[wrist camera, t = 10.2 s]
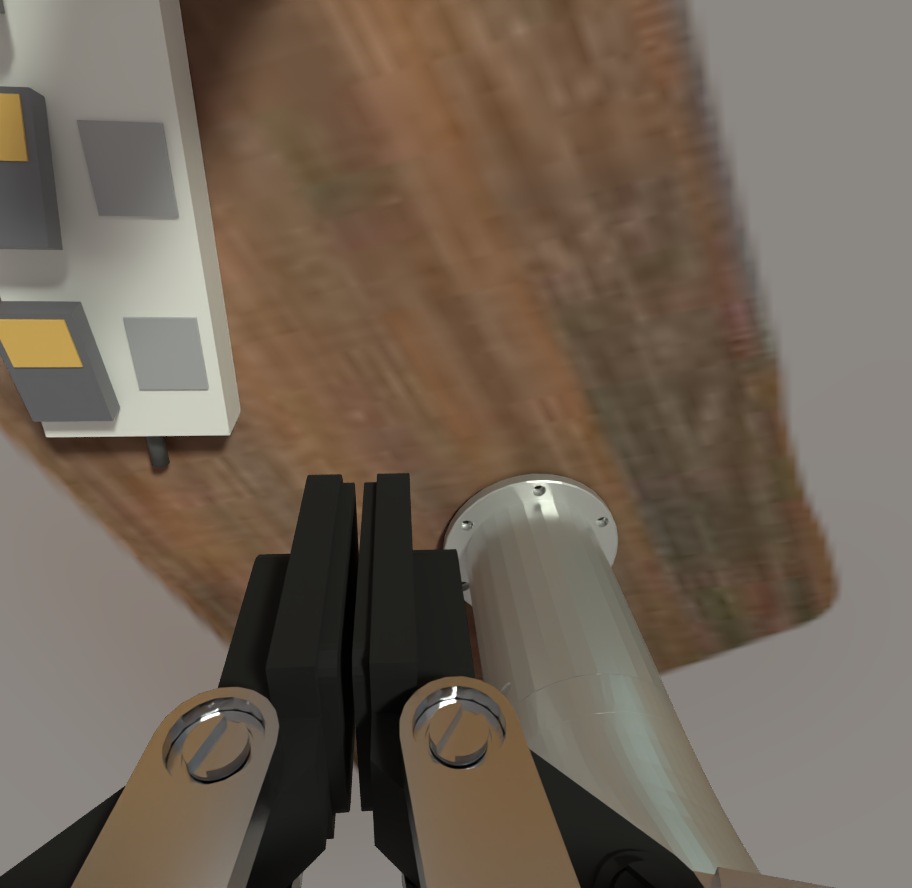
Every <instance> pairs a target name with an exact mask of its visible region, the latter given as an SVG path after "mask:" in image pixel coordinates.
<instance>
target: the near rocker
mask: <svg viewBox="0 0 912 888" xmlns="http://www.w3.org/2000/svg"><path fill="white" fill-rule="evenodd" d="M0 14H5V10H4V4H3V0H0Z"/></svg>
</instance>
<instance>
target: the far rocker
mask: <svg viewBox="0 0 912 888" xmlns="http://www.w3.org/2000/svg"><path fill="white" fill-rule="evenodd" d="M0 355H1V357H2V359H3V361H4V363H5V365H6V367H7V369H8V371H9V373H10V375H11V377H12V379H13V381H14V383H15V385H16V387H17V389H18V391H19V393H20V395H21V397H22V399H23V401H24V404H25V406H26V408H27V410H28V412H29V414H30V416H31V418H32V420H33V422H68V421H113V420H114V418H115V416H116V414H117V412H118V411H119V409H120V405H119V403H118V400H117V397H116V395H115V392H114V389H113V387H112V384H111V381H110V379H109V376H108V373H107V371H106V368H105V365H104V363H103V360H102V357H101V355H100V352H99V349H98V347H97V344H96V341H95V338H94V336H93V333H92V330H91V328H90V325H89V322H88V320H87V317H86V314H85V312H84V309H83V306H82V304H81V302H68V301H0Z"/></svg>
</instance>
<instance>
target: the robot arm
mask: <svg viewBox="0 0 912 888" xmlns="http://www.w3.org/2000/svg"><path fill="white" fill-rule="evenodd" d="M617 546H618V534H617V528H616V524H615V522H614V520H613V517H612V515H611V513H610V511H609V509H608V508H607V506H606V504H605V502H604V501H603V500H602V499H601V498H600V497H599V496H598V495H597V494H596V493H595V492H594V491H593V490H591V489H590V488H588V487H587V486H585V485H584V484H582V483H580V482H578V481H575V480H573V479H570V478H568V477H563V476H558V475H553V474H528V475H520V476H515V477H511V478H508V479H505V480H502V481H499V482H496V483H494V484H492V485H490V486H488V487H486V488H484V489H483V490H481V491H480V492H478V493H477V494H476V495H474V496H473V497H471V498H470V499H469V500H468V501H467V502H466V503H465V504H464V505H463V506H462V507H461V508H460V509H459V510H458V511H457V513H456V514H455V516H454V517H453V519H452V520H451V522H450V524H449V526H448V529H447V531H446V534H445V537H444V544H443V549H441V550H413V549H412V525H411V501H410V477H409V473H395V474H377V482H368V483H364V495H363V509H362V523H361V536H360V550H358V532H357V513H356V495H355V484H354V483H343V479H342V475H341V474H337V475H308V477H307V480H306V485H305V489H304V494H303V499H302V503H301V508H300V512H299V517H298V521H297V526H296V531H295V535H294V540H293V544H292V549H291V554H265V555H258V556H257V557H256V560H255V562H254V565H253V569H252V572H251V575H250V579H249V582H248V586H247V589H246V593H245V596H244V600H243V603H242V606H241V610H240V613H239V617H238V620H237V624H236V627H235V631H234V634H233V637H232V641H231V644H230V648H229V651H228V655H227V658H226V662H225V665H224V668H223V672H222V675H221V679H220V682H219V686H218V688H217V689H213V690H210V691H206V692H203V693H200V694H198V695H196V696H194V697H193V698H191V699H189V700H187V701H185V702H183V703H182V704H180V705H179V706H178V707H177V708H176V709H175V710H174V711H172V712H171V713H170V714H169V715H168V716H166V717H165V719H164V720H163V722H162V723H161V724H160V726H159V727H158V729H157V730H156V731H155V733H154V734H153V736H152V738H151V740H150V742H149V743H148V745H147V747H146V749H145V751H144V753H143V755H142V756H141V759H140V760H139V762H138V764H137V766H136V768H135V769H134V772H133V773H132V775H131V777H130V779H129V781H128V782H127V785H126V786H124V787H123V788H122V789H120V790H119V791H118V792H116V793H115V794H113V795H112V796H111V797H110V798H108V799H106V800H105V801H104V802H102V803H101V804H100V805H98V806H97V807H95V808H94V809H93V810H91V811H90V812H89V813H87V814H86V815H84V816H83V817H82V818H80V819H79V820H78V821H76V822H75V823H74V824H72V825H71V826H69V827H68V828H67V829H65V830H64V831H63V832H61V833H60V834H58V835H57V836H56V837H54V838H53V839H51V840H50V841H49V842H47V843H46V844H45V845H43V846H42V847H40V848H39V849H38V850H36V851H35V852H34V853H32V854H31V855H29V856H28V857H27V858H25V859H24V860H23V861H21V862H20V863H18V864H17V865H16V866H14V867H13V868H12V869H10V870H9V871H7V872H6V873H5V874H3V875H2V876H0V888H301V884H302V875H303V871H304V870H305V869H306V868H307V867H308V866H309V865H310V864H311V863H312V862H313V861H314V860H315V859H316V858H317V857H318V856H319V855H320V854H321V853H322V852H323V851H324V850H325V849H326V839H333V838H334V828H335V814H336V813H344V812H349V811H350V803H351V787H352V770H353V753H354V737H355V724H356V739H357V754H358V768H359V783H360V797H361V810H362V811H373V820H374V839H375V846H376V847H377V848H378V849H379V850H380V851H381V852H382V853H383V854H384V855H385V856H386V857H387V858H388V859H389V860H390V861H391V862H392V863H393V864H394V865H395V866H396V867H397V868H398V869H399V870H400V871H401V872H402V886H403V888H834V887H828V886H822V885H817V884H812V883H806V882H800V881H795V880H789V879H784V878H778V877H772V876H767V875H762V874H761V873H760V871H759V870H758V868H757V866H756V865H755V863H754V861H753V860H752V858H751V856H750V855H749V853H748V852H747V850H746V848H745V847H744V845H743V843H742V842H741V840H740V838H739V836H738V835H737V833H736V831H735V829H734V828H733V826H732V824H731V822H730V821H729V819H728V817H727V815H726V814H725V812H724V810H723V808H722V806H721V804H720V802H719V800H718V798H717V797H716V795H715V793H714V791H713V789H712V787H711V785H710V783H709V781H708V779H707V777H706V775H705V773H704V771H703V769H702V767H701V764H700V762H699V760H698V758H697V756H696V754H695V752H694V750H693V748H692V746H691V744H690V742H689V740H688V738H687V735H686V733H685V731H684V729H683V727H682V724H681V722H680V720H679V718H678V716H677V713H676V711H675V709H674V707H673V704H672V702H671V700H670V698H669V695H668V693H667V691H666V689H665V687H664V684H663V682H662V680H661V677H660V675H659V673H658V671H657V669H656V666H655V664H654V662H653V660H652V657H651V655H650V653H649V651H648V649H647V646H646V644H645V642H644V640H643V637H642V635H641V633H640V631H639V629H638V626H637V624H636V622H635V620H634V617H633V615H632V613H631V611H630V609H629V606H628V604H627V602H626V600H625V597H624V595H623V593H622V591H621V589H620V586H619V584H618V582H617V580H616V577H615V575H614V573H613V571H612V569H611V567H612V565H613V563H614V560H615V556H616V553H617ZM464 601H466V602H467V603H468V604H469V605H471V606H472V608H473V615H474V622H475V628H476V635H477V642H478V648H479V655H480V661H481V668H482V675H483V681H484V682H483V681H481V680H478V679H475V675H474V668H473V661H472V653H471V646H470V639H469V631H468V624H467V617H466V610H465V602H464Z"/></svg>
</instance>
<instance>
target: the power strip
mask: <svg viewBox="0 0 912 888" xmlns="http://www.w3.org/2000/svg"><path fill="white" fill-rule="evenodd" d="M3 4H4V10H5V14H0V86H7V87H29V88H31V89H33V90H34V91H36V92H38V93H39V94H41V95H43V96H44V97H45V103H46V111H47V120H48V128H49V137H50V145H51V153H52V162H53V170H54V179H55V187H56V196H57V204H58V213H59V221H60V229H61V238H62V246H63V250H26V249H0V298H1V301H68V302H81V304H82V306H83V309H84V312H85V314H86V317H87V320H88V322H89V325H90V328H91V330H92V333H93V336H94V338H95V341H96V344H97V347H98V349H99V352H100V355H101V357H102V360H103V363H104V365H105V368H106V371H107V373H108V376H109V379H110V381H111V384H112V387H113V389H114V392H115V395H116V397H117V400H118V403H119V405H120V409H119V411H118V412H117V414H116V416H115V418H114V420H113V421H68V422H41V423H42V426H43V429H44V432H45V435H46V437H116V436H145V437H146V441H147V445H148V449H149V454H150V458H151V462H152V465H153V466H154V467H163V466H166V465H168V464H169V463H170V461H169V456H168V452H167V447H166V443H165V438H164V436H204V435H230V434H231V432H232V430H233V428H234V425H235V423H236V421H237V419H238V417H239V415H240V412H241V409H240V403H239V396H238V389H237V383H236V376H235V369H234V363H233V356H232V349H231V343H230V336H229V329H228V323H227V316H226V310H225V303H224V296H223V290H222V283H221V276H220V270H219V263H218V256H217V250H216V243H215V236H214V230H213V223H212V216H211V210H210V203H209V196H208V190H207V183H206V176H205V170H204V163H203V156H202V150H201V143H200V136H199V130H198V123H197V116H196V110H195V103H194V97H193V90H192V83H191V77H190V70H189V63H188V57H187V50H186V43H185V37H184V30H183V23H182V17H181V10H180V3H179V0H3Z"/></svg>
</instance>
